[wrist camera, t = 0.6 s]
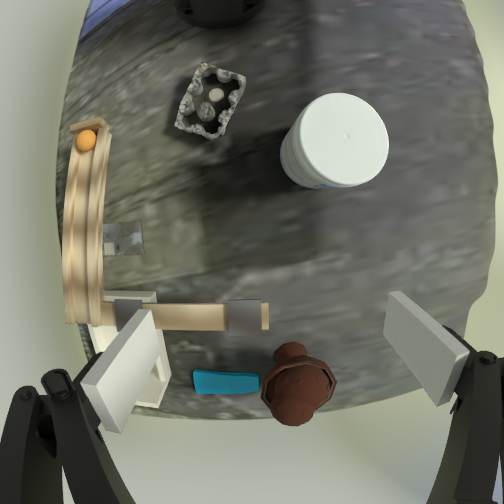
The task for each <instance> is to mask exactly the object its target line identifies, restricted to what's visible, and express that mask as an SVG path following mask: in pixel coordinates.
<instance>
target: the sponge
mask: <svg viewBox="0 0 504 504" xmlns="http://www.w3.org/2000/svg"><path fill="white" fill-rule="evenodd" d="M193 378H194V385H195V390H196V393H199V394H217V393H218V394H232V393H233V394H246V393H250V392H256V391H259V375H258V374H255V373H231V372H227V373H226V372H215V371H202V370H194V372H193Z"/></svg>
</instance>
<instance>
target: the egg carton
mask: <svg viewBox="0 0 504 504" xmlns="http://www.w3.org/2000/svg"><path fill="white" fill-rule="evenodd" d="M212 73H214V74H217V78H218V80H219V81H220V82H222V83H228V82H230V81H231V80H232V79H235V80H238V83H239V86H240V89H239V90H234V91H232V92H231V93H230V95H229V97H228V99H229V101H230V105H231V108H232V109H231V108H229V109H228V110H224V111H222V113H221V114H220V115H219V117H218V120H219V122H220V123H221V125H222V126H220V127H218V132H216V133H214V134H210V133H208V132H205V130H204V128H203V127H202V126H201V125H200V124H196V125H191V126H190V127H189V128H188V127H186V128H185V125H184V123H183V122H182V119H183V117H184V116H188V115H190V114H192V112H193V111H194V105H193V103H192V102H191V101H192V97H193V96H198V95H199V94H201V93H202V91H203V86H202V84H201V79H202V78H203V77H208V76H209V75H211V74H212ZM245 86H246V77H245V76H242V75H240V74H236V73H233V72H230V71H228V70H227V71H225V70H222V69H219V68H217V67H215V66H213V65H209V64H206V63H204V62H202V63H201V64H200V66H199V67H198V69H197V71H196V72H195V74H194V76H193V78H192V82H191V84H190V85H189V87H188V89H187V91H186V94H185V95H184V98H183V99H182V101H181V103H180V107H179V111H178V115H177V120H176V122H175V125H174V127H178V128H179V129H182V130H185V131H186V132H189V133H192V132H195V133H197V134H201V135H203V136H205V137H206V138H207V139H210V140H213V138H217V137H218V136H219V135H224V133H225V130H226V129H225V127H226V125H227V123H228V121H229V119H230V116H231V115H232V114H233V112H234V110H235V107H236V105H237V103H238V102H239V100H240V98H241V96H242V94H243V91H244V89H245ZM223 97H224V92H223V91H222V90H221V89H219V88H216V89H213V90H211V91H210V93H209V99H210V100H211V101H213V102H218V101H220V100H221V99H222V98H223ZM197 114H198V116H199V118H200V119H201V120H202V121H204V122H210V121H212V120H213V119H214V117H215V111H214V109H213V107H212V105H211V104H209V103H207V102H201V103H200V105H199V108H198V110H197Z"/></svg>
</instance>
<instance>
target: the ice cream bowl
mask: <svg viewBox="0 0 504 504" xmlns="http://www.w3.org/2000/svg"><path fill="white" fill-rule="evenodd" d="M306 355H307V351H306V349H305V347H304V346H303V345H302V344H299V343H296V342H291V343H286V344H283V345H282V346H281V347H280V348H279V349H278V350H277V351H276V356H275V359H276V361H277V362H278V363H277V364H276V365H275V366H274V367H272V368H271V369H270V370H269V371H268V372H267V373H266V374H265V377H264V381H263V387H262V392H261V399H262V400H263V402H264V403H265V404H266V405H267V406H268V408H269V409H270V410H271V413H272V415H273V417H274V418H275V419H277V421H279V422H280V423H282V424H284V425H288V426H299V425H301V424H304V423H305V422H308V421H309V420H310V419H311V418H312V417H313V413H314V411H315V410H317V409H318V408H319V407H321V406H322V405H323V404H325V403H326V402H327V401H329V400H330V399H331V397H332V395H333V392H334V389H335V386H336V384H337V381H336V379H335V377H334V376H333V374H332V372H331V370H330V368H329V367H328V366H327V364H326V363H325V362H323V361H321V360H318V359H315V358H312V357H309V356H306Z"/></svg>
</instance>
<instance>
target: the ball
mask: <svg viewBox="0 0 504 504" xmlns="http://www.w3.org/2000/svg"><path fill="white" fill-rule="evenodd" d="M95 143H96V135H95V133H94V132H93V131H91V130H84V131H82V132H81V133H80V134H79V135H78V136H77V139H76V144H77V147H78V148H79V149H80V150H82V151H88V150H90V149H92V148H93V147H94V145H95Z"/></svg>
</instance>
